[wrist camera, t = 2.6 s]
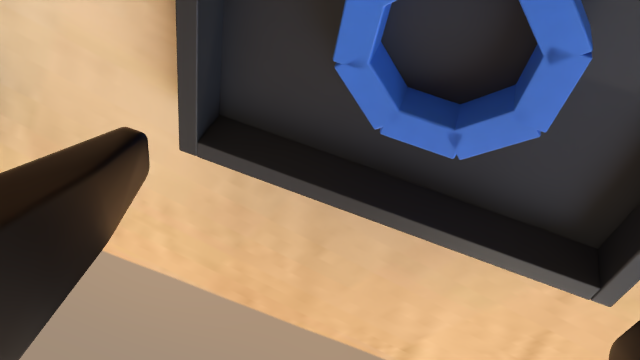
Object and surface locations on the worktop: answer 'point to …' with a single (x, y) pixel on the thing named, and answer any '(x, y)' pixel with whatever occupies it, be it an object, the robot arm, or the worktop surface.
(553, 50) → the ring
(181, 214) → the worktop surface
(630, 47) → the tray
